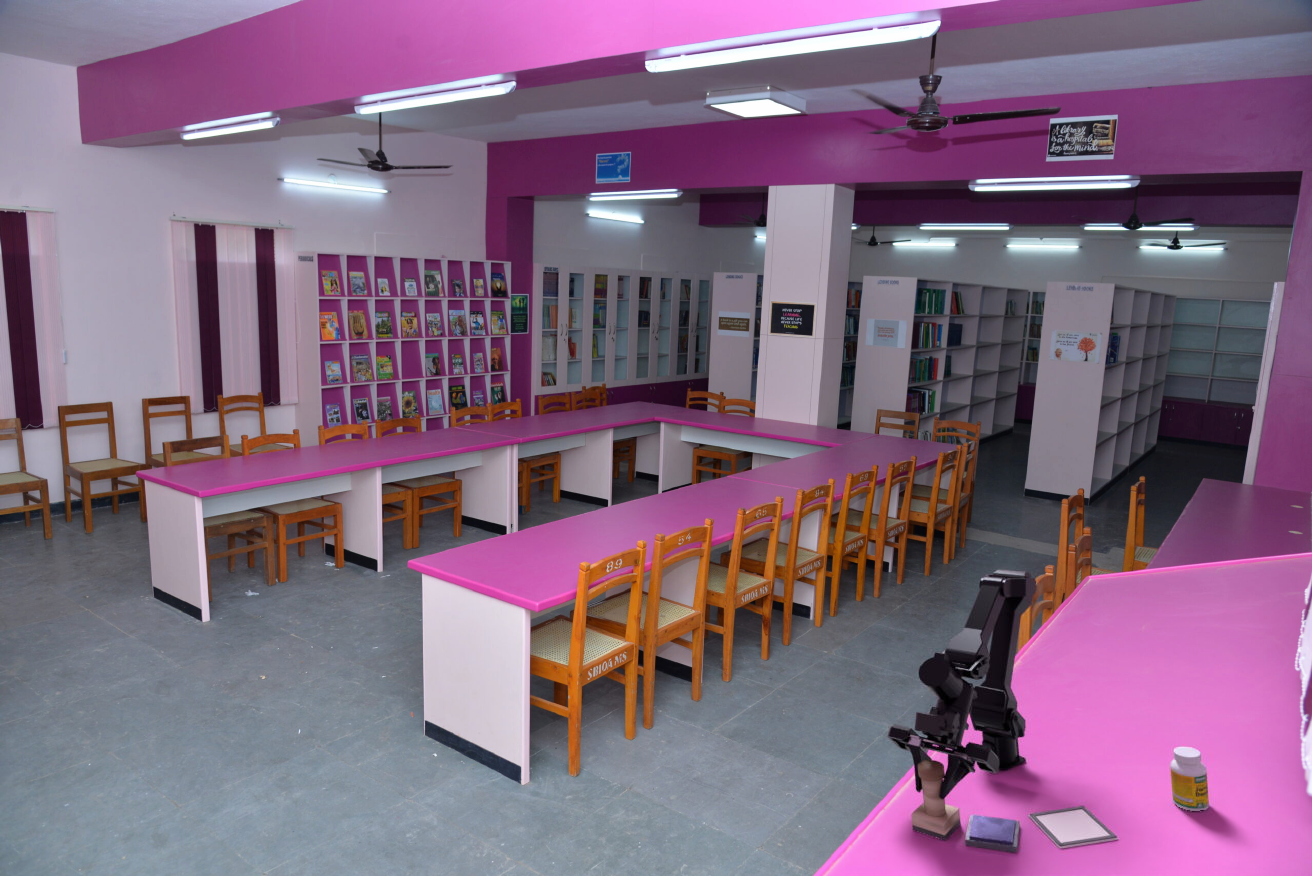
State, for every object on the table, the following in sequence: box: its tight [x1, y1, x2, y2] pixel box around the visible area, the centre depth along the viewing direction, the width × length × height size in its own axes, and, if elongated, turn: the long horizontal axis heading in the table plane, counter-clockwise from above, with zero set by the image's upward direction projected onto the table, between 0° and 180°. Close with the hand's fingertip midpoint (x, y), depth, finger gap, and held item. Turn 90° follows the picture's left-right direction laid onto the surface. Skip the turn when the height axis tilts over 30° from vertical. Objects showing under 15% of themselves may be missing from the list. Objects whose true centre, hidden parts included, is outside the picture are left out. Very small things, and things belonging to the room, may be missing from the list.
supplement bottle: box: [1169, 746, 1210, 812], centre depth 144 cm, size 5×5×10 cm
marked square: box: [1028, 805, 1119, 850], centre depth 142 cm, size 10×10×1 cm
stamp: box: [910, 759, 961, 842], centre depth 147 cm, size 6×6×11 cm
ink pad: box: [964, 814, 1021, 854], centre depth 142 cm, size 8×8×1 cm
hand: (929, 795), depth 145 cm, fingers closed on stamp, 4 cm apart
